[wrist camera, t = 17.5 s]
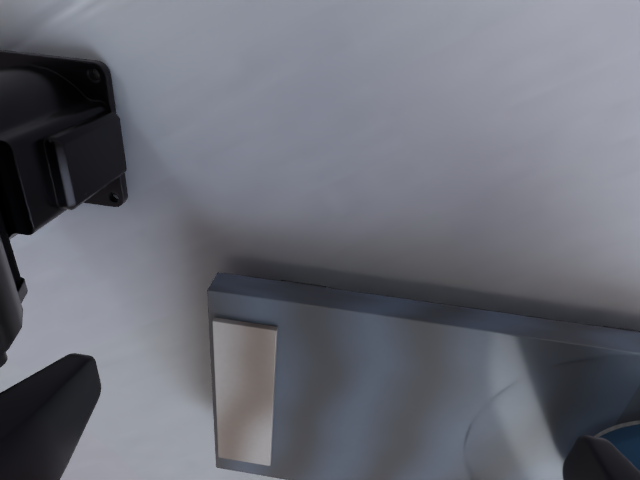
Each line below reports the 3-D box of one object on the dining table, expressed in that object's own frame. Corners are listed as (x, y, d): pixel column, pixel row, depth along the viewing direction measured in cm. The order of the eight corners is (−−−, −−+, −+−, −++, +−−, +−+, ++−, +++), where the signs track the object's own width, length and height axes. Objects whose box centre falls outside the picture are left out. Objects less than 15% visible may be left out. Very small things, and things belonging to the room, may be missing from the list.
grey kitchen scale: (230, 425, 29) (214, 472, 26) (227, 255, 23) (204, 293, 20) (646, 493, 28) (677, 552, 25) (770, 331, 21) (830, 385, 18)
